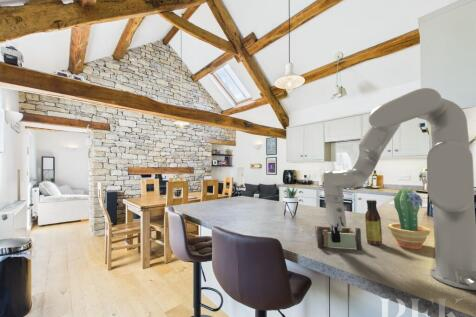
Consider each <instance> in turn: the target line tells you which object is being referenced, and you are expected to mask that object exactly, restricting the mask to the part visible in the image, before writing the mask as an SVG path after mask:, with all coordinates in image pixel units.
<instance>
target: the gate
mask: <svg viewBox="0 0 476 317" xmlns="http://www.w3.org/2000/svg"><path fill="white" fill-rule="evenodd" d="M323 232H324V245H323V246H324V247H325V248H341V249H353V250H354V249H355V250H356V247H355V234H351V233H340V240H341V242H340V243H333V242H332V239H331V232H327V230H323Z"/></svg>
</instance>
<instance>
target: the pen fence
mask: <svg viewBox="0 0 476 317" xmlns="http://www.w3.org/2000/svg"><path fill="white" fill-rule="evenodd" d="M354 229H355V231H354V230H353V229H352V227H342V231H340V233H351V234H355V250H356V251H362V233H361V227H355V228H354ZM314 230H315V231H314V232H315V239H316V242H317V248H319V249H323V246H324V232H323V230H327V232H331V228H330V226H320V225H318V226H317V225H316V226H314Z"/></svg>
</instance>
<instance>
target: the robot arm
mask: <svg viewBox="0 0 476 317" xmlns="http://www.w3.org/2000/svg"><path fill="white" fill-rule="evenodd" d="M416 118H417V119H420V120H423V121H426V122H428V123H429V125H430V136H431V148H430V149H429V151H428V153H427V156H426V172H427V173H426V175H427V177H426V179H427V194H428V198H429V200H430V202H431V203H432V222H433V223H432V224H433V237H434V252H435V256H434V257H435V266H436V267H435V266H434V267H432V268H430V269H429V273H430V276H432V278H434V279H436V281H439V282H441V283H444V284H446V285H449V286H452V287H456V288H459V289H463V290H470V291H476V210H475V209H476V208H475V186H474V185H475V184H474V183H475V182H474V160H473V154H472V151H471V149H470V142H469V141H470V139H469V128H468V119H467V116H466V114H465V112H464V110H463V109H462V108H461V106H459V105H458V104H457V103H456V102H454V101H452V100H448V99H446V98H443V97H442V96H441V94H440V93H439V91H437V90H435V89H434V88H430V87H424V88H423V87H422V88H419V89H415V90H412V91H410V92H408V93H405V94H402V95H401V96H399V97H397V98H394V99H391V100H388V101H387V102H385V103H383V104H381V105H379V106H377V107H375V108H373V109H372V111H371V112H370V114H369V115H368V123H369V124H370V125H369V127H368V129H367V131H366V132H365V133H364V135H363V137H362V138H361V140H360V142H359V144H358V150H359V151H358V152H359V155H358V157H357V160H356V162H355V164H354V165H353V167H352V168H351V169H345V170H326V171H324V172H323V173H322V174H323V177H322V178H323V179H322V180H323V195H324V203H325V220H326V223H327V224H328V225H329V227H330V228H331V239H332V242H333V243H340V242H341V240H340V231H342V228H347V220H346V212H345V206H344V205H345V204H344V190H343V189H355V188H359V187H361V186H364V184H365V183H366V182H367V181H368V180H369V178H370V177H371V175H372V173H373V172H374V170H375V169H376V167H377V165H378V163H379V160H380V158H381V155H382V154H383V152H384V151H385V149H386V148H387V146H388V145H389V143H390V141H391V140H392V138H393V136H394V135H395V134H396V133H397V131H398V129H399V127H400V126H401V124H402V123H405V122H408V121H411V120H413V119H416Z"/></svg>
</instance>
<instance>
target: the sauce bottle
mask: <svg viewBox="0 0 476 317" xmlns="http://www.w3.org/2000/svg"><path fill="white" fill-rule="evenodd" d="M377 204H378V202H377V200H376V199H367V200H366V205H367V208H366V209H367V210H366V212H365V215H364V216H365V221H364V222H365V235H366V236H365V237H366V242H367V243H368V244H370V245H373V246H374V245H375V246H380V245H382V244H383V233H382V230H383V229H382V220H381V216H380V213H379V210H378V208H377Z"/></svg>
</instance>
